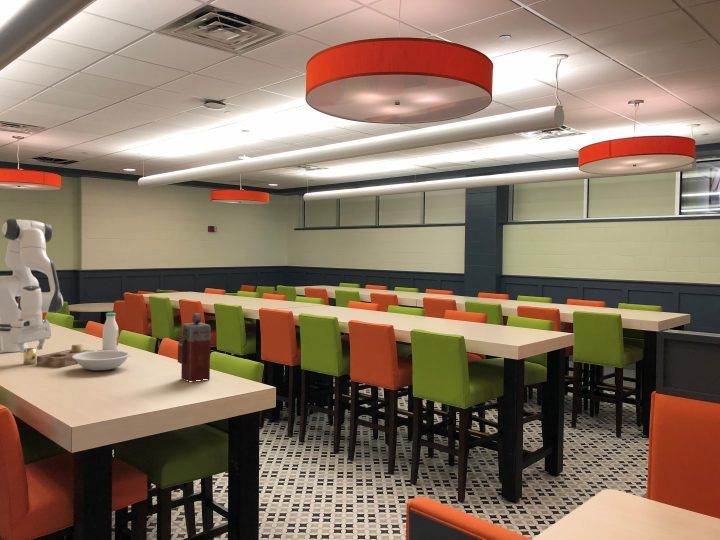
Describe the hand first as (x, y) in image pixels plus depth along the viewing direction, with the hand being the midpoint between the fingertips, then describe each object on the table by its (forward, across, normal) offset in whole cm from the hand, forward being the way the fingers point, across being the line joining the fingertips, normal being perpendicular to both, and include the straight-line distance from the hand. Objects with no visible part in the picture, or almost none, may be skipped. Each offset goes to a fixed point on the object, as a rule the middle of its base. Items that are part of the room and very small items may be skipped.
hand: (31, 351), depth 260 cm
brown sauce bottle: (+8, +2, +85) cm, 85 cm away
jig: (+6, -10, +11) cm, 16 cm away
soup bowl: (+7, -1, +37) cm, 38 cm away
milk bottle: (+6, -44, +8) cm, 45 cm away
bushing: (+6, 0, -1) cm, 6 cm away
